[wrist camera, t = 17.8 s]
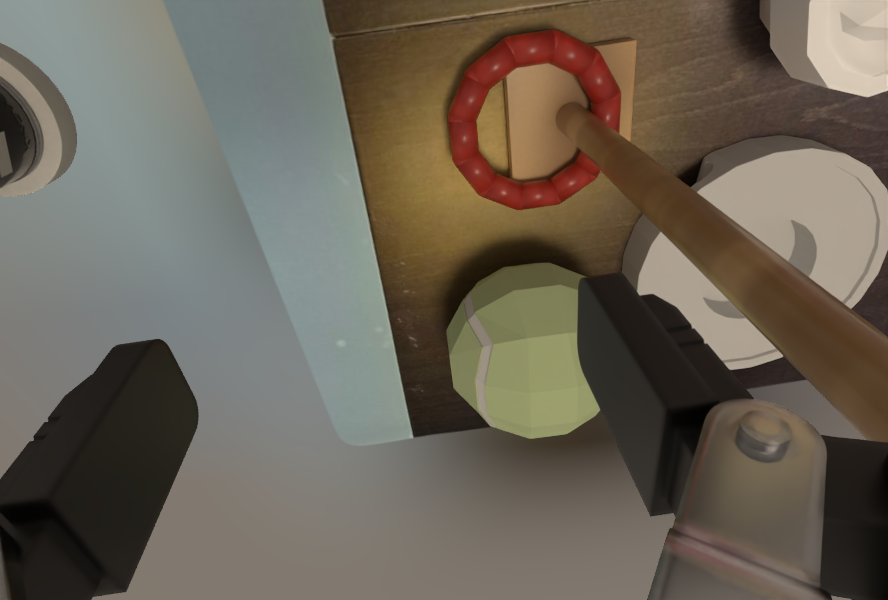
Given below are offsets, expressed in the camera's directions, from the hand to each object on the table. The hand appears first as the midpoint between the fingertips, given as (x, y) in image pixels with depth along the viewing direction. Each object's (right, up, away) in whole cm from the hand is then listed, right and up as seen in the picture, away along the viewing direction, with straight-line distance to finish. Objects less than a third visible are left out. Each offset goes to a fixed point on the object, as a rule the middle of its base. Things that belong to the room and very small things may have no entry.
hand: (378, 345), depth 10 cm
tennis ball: (+9, +1, +43) cm, 44 cm away
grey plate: (+30, +6, +41) cm, 52 cm away
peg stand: (+11, +16, +33) cm, 38 cm away
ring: (+8, +14, +31) cm, 35 cm away
